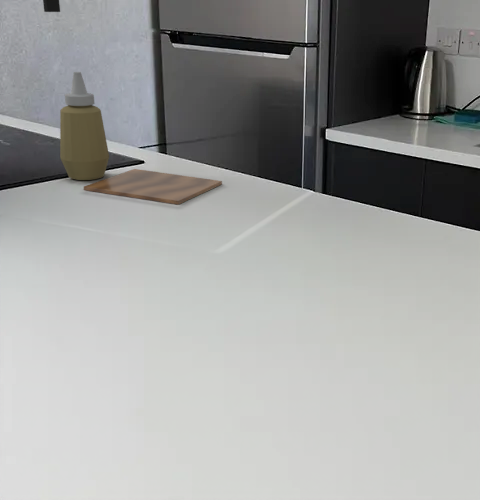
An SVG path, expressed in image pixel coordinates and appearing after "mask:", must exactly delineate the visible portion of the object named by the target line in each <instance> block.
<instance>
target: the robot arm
mask: <svg viewBox="0 0 480 500" xmlns="http://www.w3.org/2000/svg"><path fill="white" fill-rule="evenodd" d="M42 3H43V4H42V5H43V12H44V13H60V12H61V5H60V0H42Z"/></svg>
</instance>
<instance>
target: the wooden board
mask: <svg viewBox="0 0 480 500" xmlns="http://www.w3.org/2000/svg"><path fill="white" fill-rule="evenodd" d="M221 185H223V180H219V179H218V180H217V179H210V178H205V177H204V178H203V177H195V176H189V175H181V174H175V173H167V172H161V171H160V172H159V171H153V170H146V169H139V168H132V169H130V170H127V171H124V172H122V173H119V174H115V175H113V176H110V177H108V178H105V179H102V180H99V181H96V182H93V183H90V184H87V185H84V186H83V191H88V192H95V193H101V194H108V195H113V196H121V197H127V198H134V199H140V200H146V201H153V202H159V203H166V204H173V205H180V204H181V205H182V204H183V203H185V202H187V201H189V200H191V199H194V198H195V197H198V196H200V195H202V194H205V193H206V192H209V191H210V190H213V189H215V188H217V187H219V186H221Z"/></svg>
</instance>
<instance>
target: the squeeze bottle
mask: <svg viewBox="0 0 480 500" xmlns="http://www.w3.org/2000/svg"><path fill="white" fill-rule="evenodd" d="M64 102H65V103H64V104H65V105H66V106H63V107H62V108H61V109H60V115H59V121H60V122H59V123H60V125H59V128H60V131H59V133H60V134H59V137H60V138H59V144H60V145H59V155H60V156H59V158H60V161H61V163H62V165H63V167H64V169H65V171H66V173H67V176H68V178H69V179H72V180H77V181H92V180H97V179H98V180H99V179H101V178H103V177H104V176H105V174H106V172H107V171H106V170H107V167H108V163H109V159H110V153H109V148H108V142H107V137H106V132H105V127H104V121H103V116H102V110H101V109H100V108H99V107H98V106H97V105H95V95H94V93H89V92H88V91H87V87H86V83H85V80H84V78H83V74H82V72H81V71H73V74H72V81H71V89H70V92H68V93H65V94H64Z"/></svg>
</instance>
